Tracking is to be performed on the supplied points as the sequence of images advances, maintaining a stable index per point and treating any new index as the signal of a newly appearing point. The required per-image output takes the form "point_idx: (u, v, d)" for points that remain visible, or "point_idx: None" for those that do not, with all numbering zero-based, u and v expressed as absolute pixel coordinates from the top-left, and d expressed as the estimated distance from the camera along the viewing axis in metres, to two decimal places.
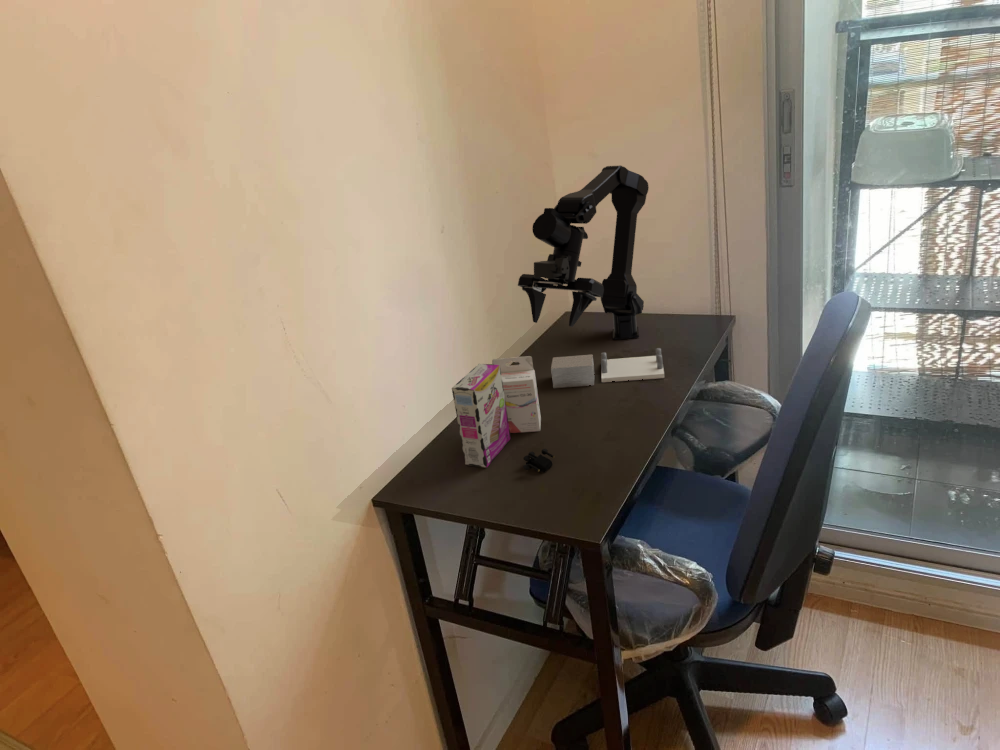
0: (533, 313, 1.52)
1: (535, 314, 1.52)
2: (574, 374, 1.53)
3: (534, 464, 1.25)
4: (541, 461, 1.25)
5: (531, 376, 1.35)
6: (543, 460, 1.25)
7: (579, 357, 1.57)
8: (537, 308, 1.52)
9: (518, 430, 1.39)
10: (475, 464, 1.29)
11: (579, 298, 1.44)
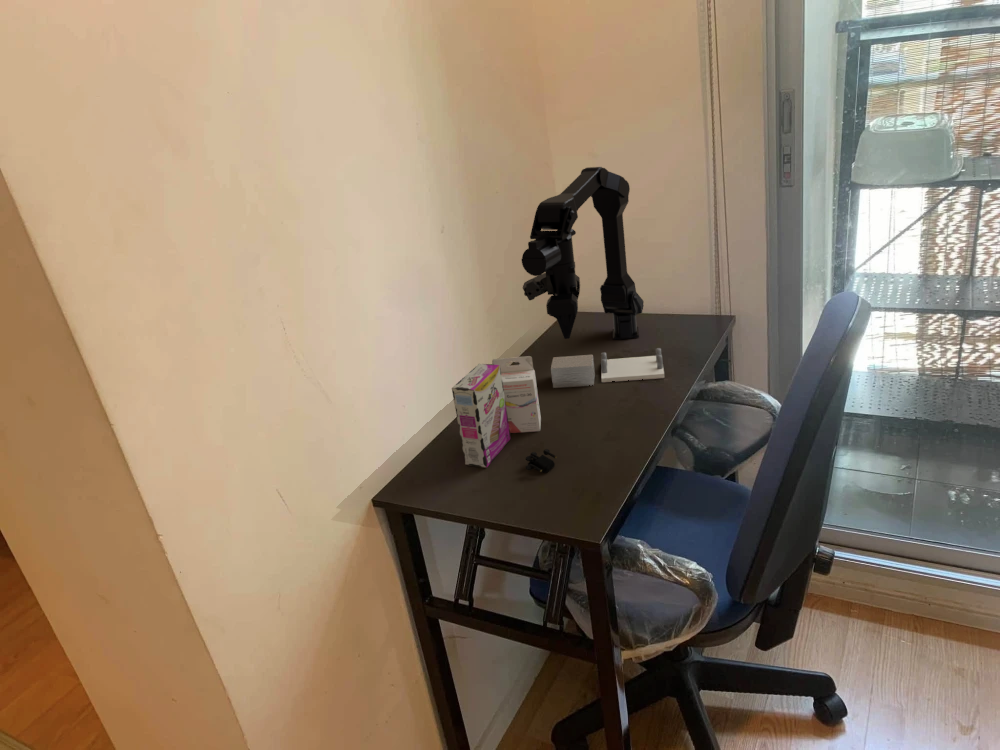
0: None
1: None
2: (574, 374, 1.53)
3: (536, 464, 1.25)
4: (543, 461, 1.25)
5: (531, 376, 1.35)
6: (545, 460, 1.25)
7: (580, 357, 1.57)
8: None
9: (518, 430, 1.39)
10: (475, 464, 1.29)
11: None
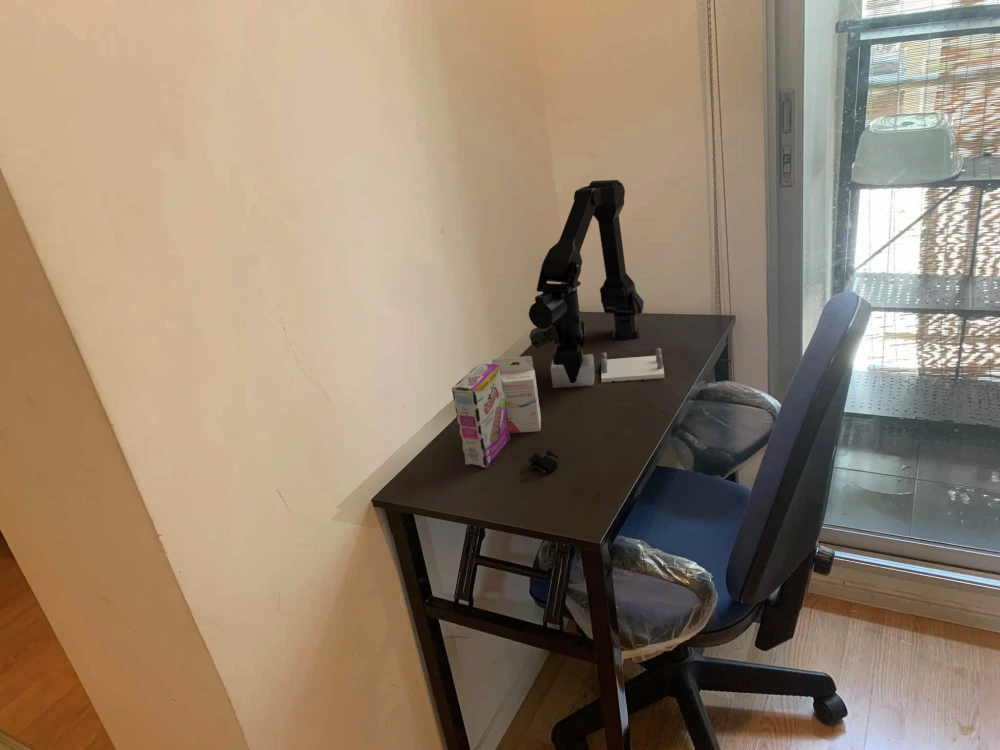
0: None
1: None
2: None
3: (539, 465, 1.24)
4: (546, 462, 1.25)
5: (531, 376, 1.35)
6: (548, 461, 1.25)
7: None
8: None
9: (518, 430, 1.39)
10: (475, 464, 1.29)
11: None
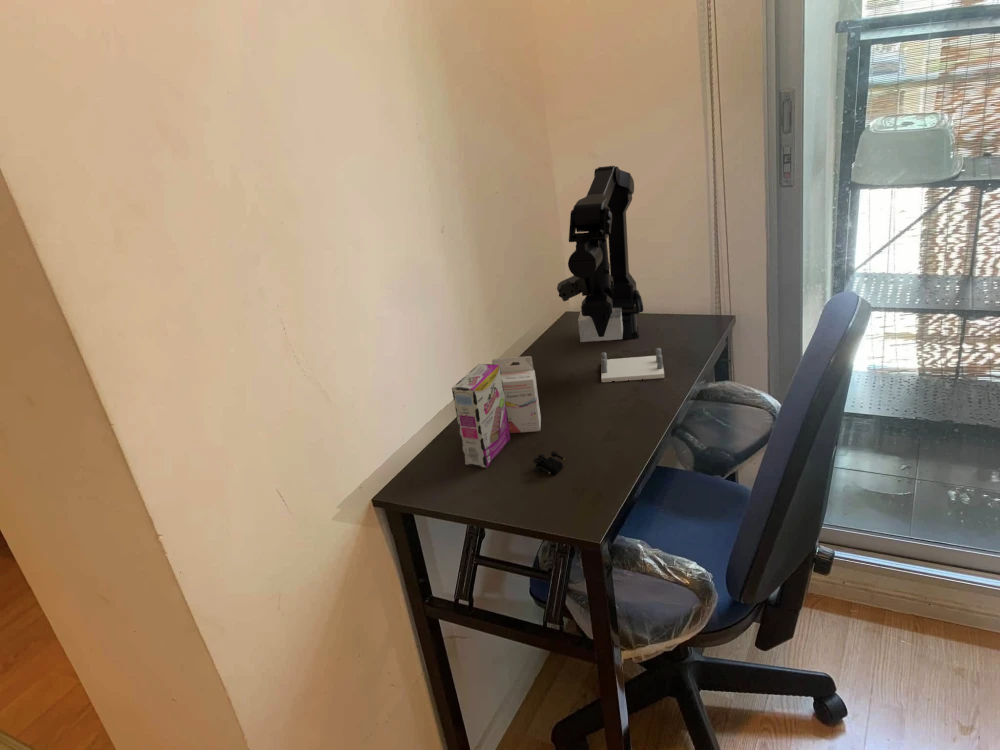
0: None
1: None
2: None
3: (544, 466, 1.24)
4: (551, 463, 1.24)
5: (531, 376, 1.35)
6: (553, 462, 1.24)
7: None
8: None
9: (518, 430, 1.39)
10: (475, 464, 1.29)
11: None
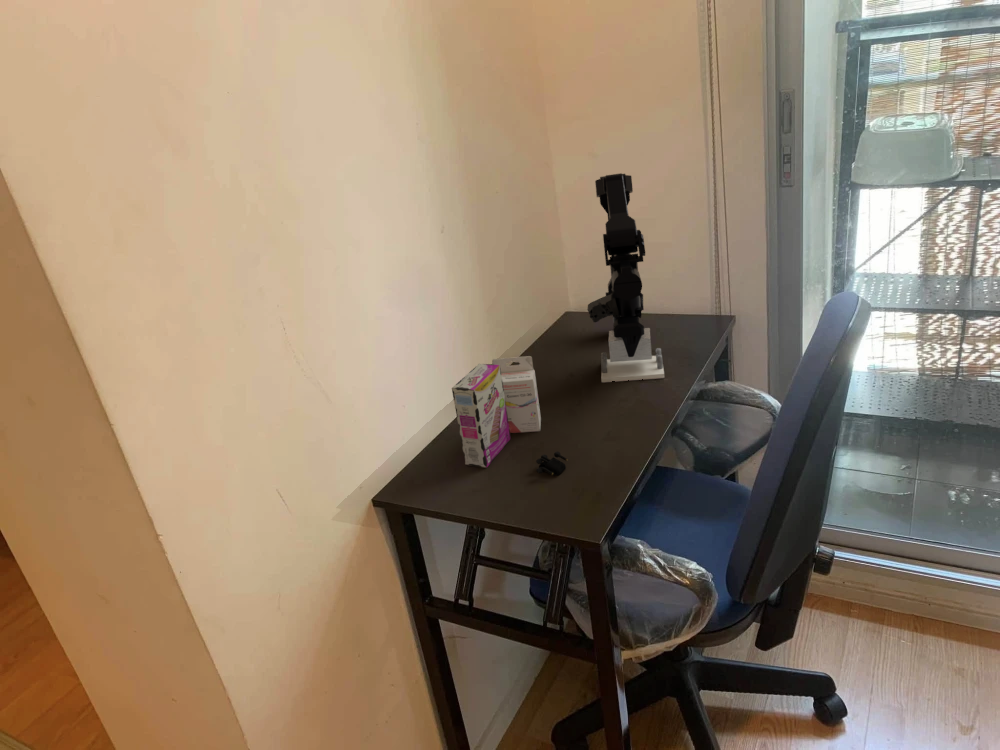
0: None
1: None
2: None
3: (547, 467, 1.23)
4: (554, 464, 1.24)
5: (531, 376, 1.35)
6: (556, 463, 1.24)
7: None
8: None
9: (518, 430, 1.39)
10: (475, 464, 1.29)
11: (620, 336, 1.49)
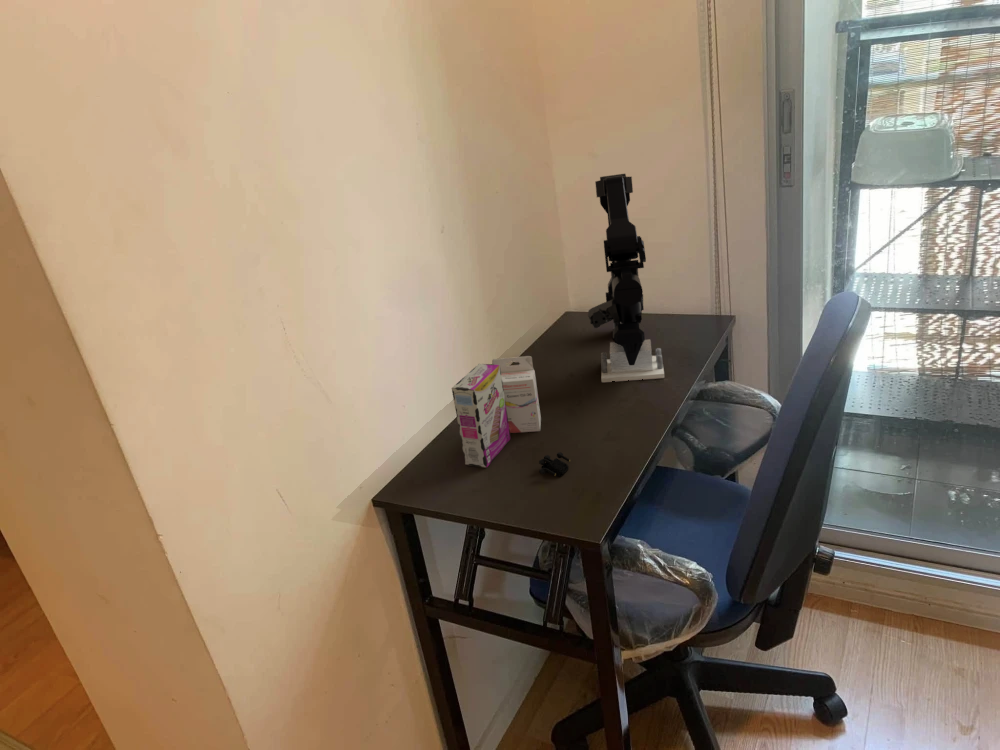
0: None
1: None
2: None
3: (550, 468, 1.23)
4: (557, 465, 1.23)
5: (531, 376, 1.35)
6: (559, 464, 1.24)
7: None
8: None
9: (518, 430, 1.39)
10: (475, 464, 1.29)
11: None
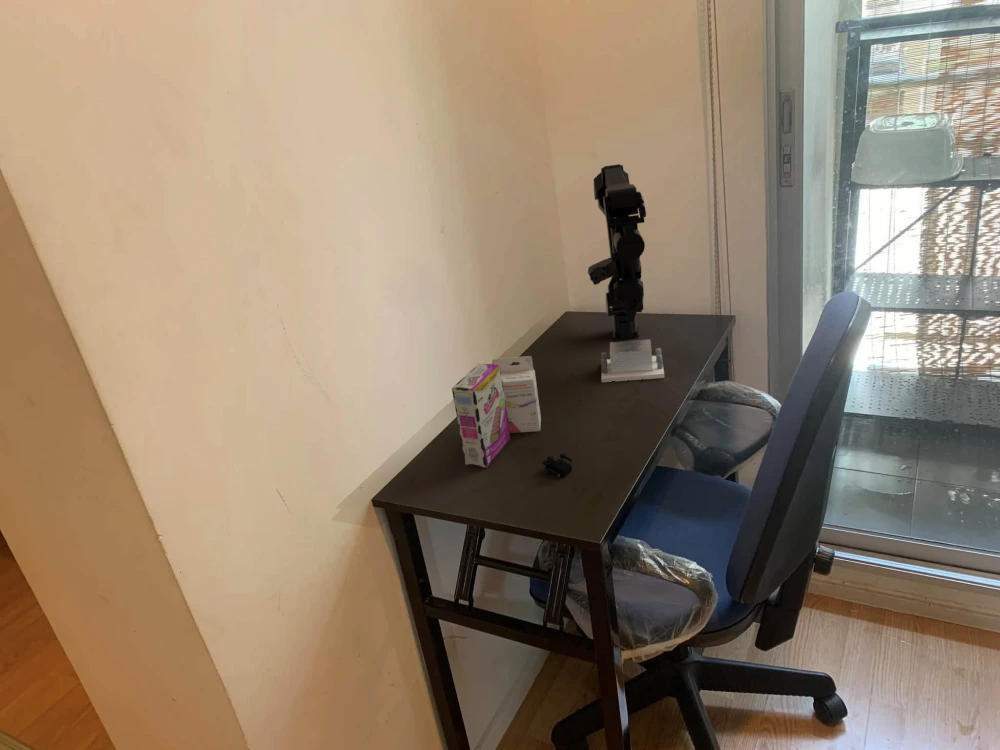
0: None
1: None
2: (633, 359, 1.53)
3: (553, 469, 1.23)
4: (560, 466, 1.23)
5: (531, 376, 1.35)
6: (562, 464, 1.23)
7: (637, 341, 1.56)
8: None
9: (518, 430, 1.39)
10: (475, 464, 1.29)
11: (620, 301, 1.49)
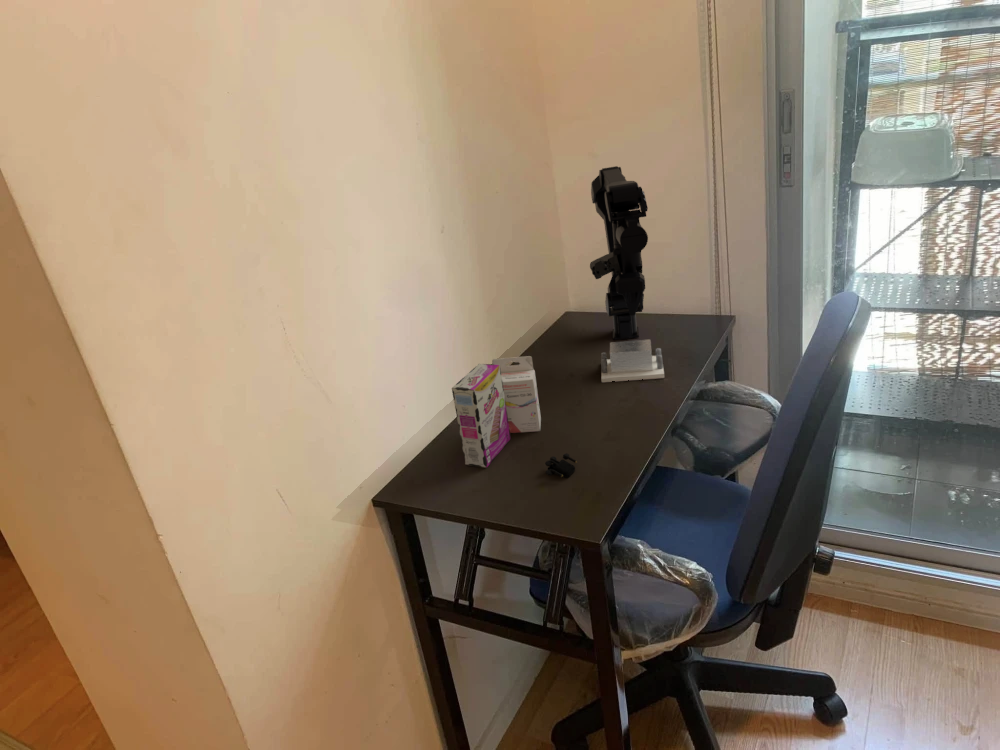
0: None
1: None
2: (633, 359, 1.53)
3: (557, 469, 1.22)
4: (564, 466, 1.23)
5: (531, 376, 1.35)
6: (566, 465, 1.23)
7: (637, 341, 1.56)
8: None
9: (518, 430, 1.39)
10: (475, 464, 1.29)
11: (621, 294, 1.51)
